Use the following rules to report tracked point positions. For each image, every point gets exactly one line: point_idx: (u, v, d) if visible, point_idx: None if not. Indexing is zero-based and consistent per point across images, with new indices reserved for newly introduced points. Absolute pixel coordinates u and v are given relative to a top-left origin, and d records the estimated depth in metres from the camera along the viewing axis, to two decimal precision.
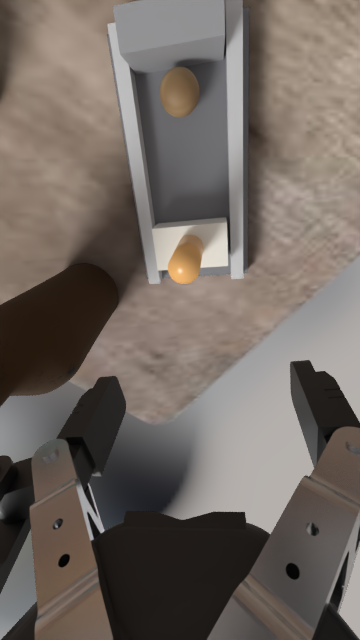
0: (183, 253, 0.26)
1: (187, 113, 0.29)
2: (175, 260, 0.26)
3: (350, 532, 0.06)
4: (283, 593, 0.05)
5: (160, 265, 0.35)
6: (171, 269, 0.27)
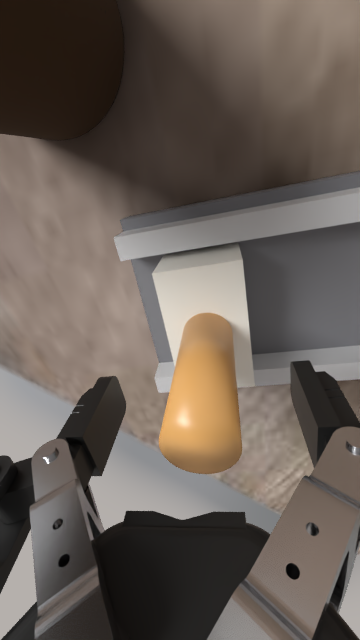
0: (239, 448, 0.10)
1: None
2: (219, 434, 0.10)
3: (350, 532, 0.06)
4: (283, 593, 0.05)
5: (164, 279, 0.16)
6: (193, 424, 0.10)
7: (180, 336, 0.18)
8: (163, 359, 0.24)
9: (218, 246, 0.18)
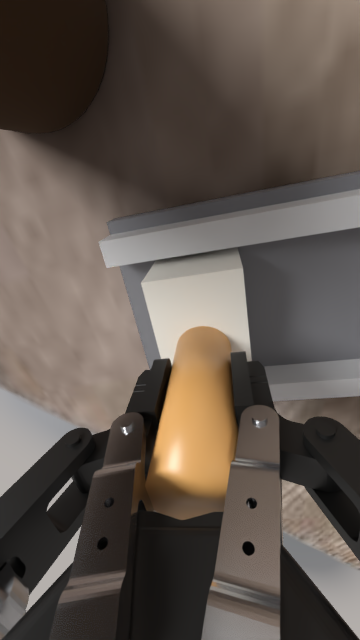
0: None
1: None
2: (216, 484, 0.08)
3: (278, 491, 0.07)
4: (247, 572, 0.05)
5: (154, 289, 0.14)
6: (185, 473, 0.08)
7: (173, 351, 0.16)
8: None
9: (215, 251, 0.17)
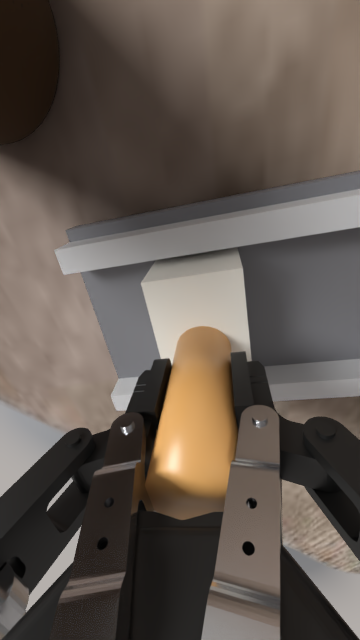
0: None
1: None
2: (216, 484, 0.08)
3: (278, 491, 0.07)
4: (247, 572, 0.05)
5: (154, 289, 0.14)
6: (185, 473, 0.08)
7: (173, 351, 0.16)
8: (123, 375, 0.23)
9: (215, 251, 0.17)
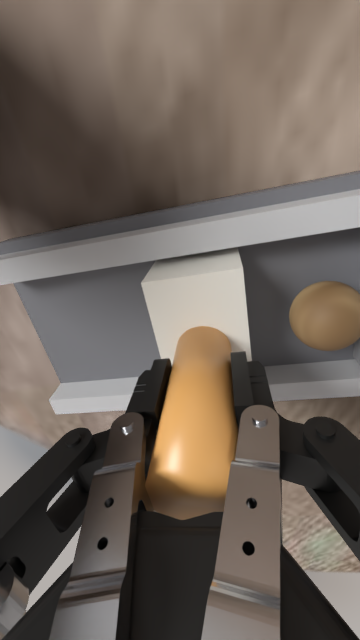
0: None
1: (294, 332, 0.17)
2: (216, 484, 0.08)
3: (278, 491, 0.07)
4: (247, 572, 0.05)
5: (154, 289, 0.14)
6: (185, 473, 0.08)
7: (173, 351, 0.16)
8: (64, 379, 0.24)
9: (215, 251, 0.17)
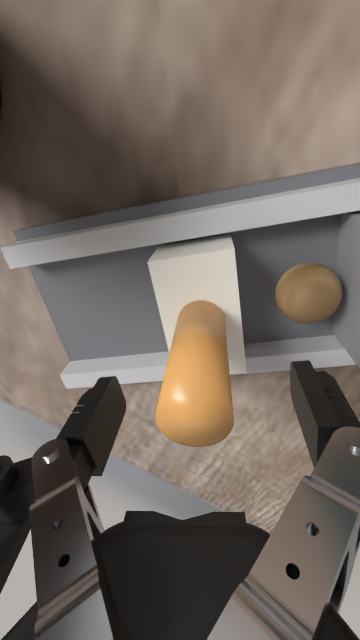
0: (231, 420, 0.11)
1: (280, 308, 0.19)
2: (212, 406, 0.10)
3: (350, 532, 0.06)
4: (283, 593, 0.05)
5: (159, 267, 0.17)
6: (188, 397, 0.10)
7: (174, 323, 0.18)
8: (73, 358, 0.26)
9: (211, 237, 0.19)
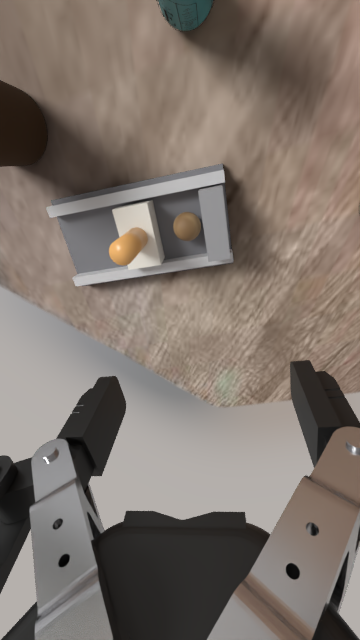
0: (133, 252, 0.33)
1: None
2: (126, 246, 0.33)
3: (350, 532, 0.06)
4: (283, 593, 0.05)
5: (117, 212, 0.39)
6: (118, 243, 0.33)
7: None
8: (79, 271, 0.48)
9: None
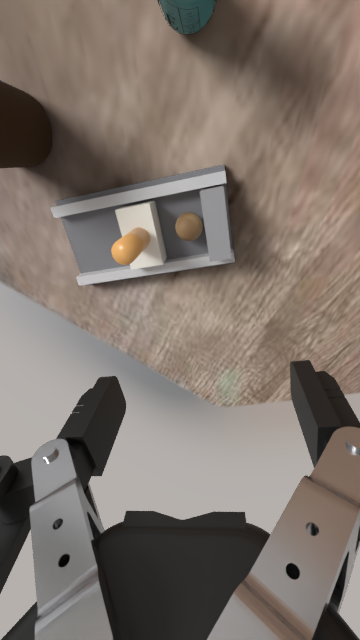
0: (135, 251, 0.33)
1: (177, 234, 0.42)
2: (128, 245, 0.33)
3: (350, 532, 0.06)
4: (283, 593, 0.05)
5: (119, 212, 0.39)
6: (120, 242, 0.33)
7: None
8: (82, 271, 0.49)
9: (146, 202, 0.42)
